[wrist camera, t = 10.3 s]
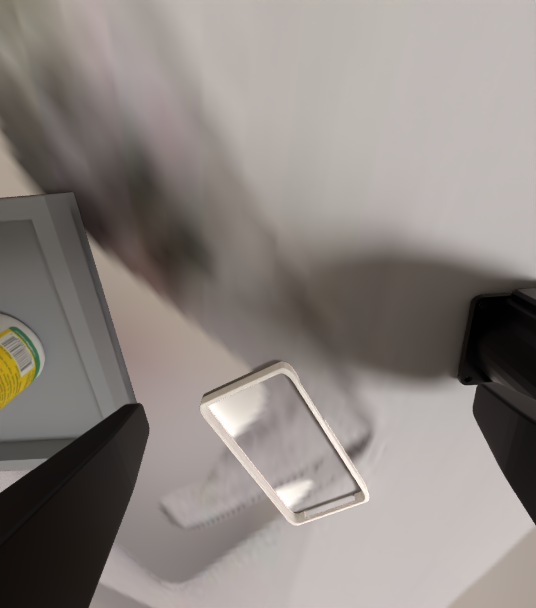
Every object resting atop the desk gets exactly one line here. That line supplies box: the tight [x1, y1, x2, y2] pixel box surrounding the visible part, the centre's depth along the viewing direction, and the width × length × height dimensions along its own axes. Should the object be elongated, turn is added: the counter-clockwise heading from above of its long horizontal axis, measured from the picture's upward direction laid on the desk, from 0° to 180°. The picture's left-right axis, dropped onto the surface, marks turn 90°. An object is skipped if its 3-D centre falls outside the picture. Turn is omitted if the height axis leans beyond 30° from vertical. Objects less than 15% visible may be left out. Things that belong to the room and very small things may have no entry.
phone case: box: [200, 361, 369, 526], centre depth 25 cm, size 7×1×15 cm
